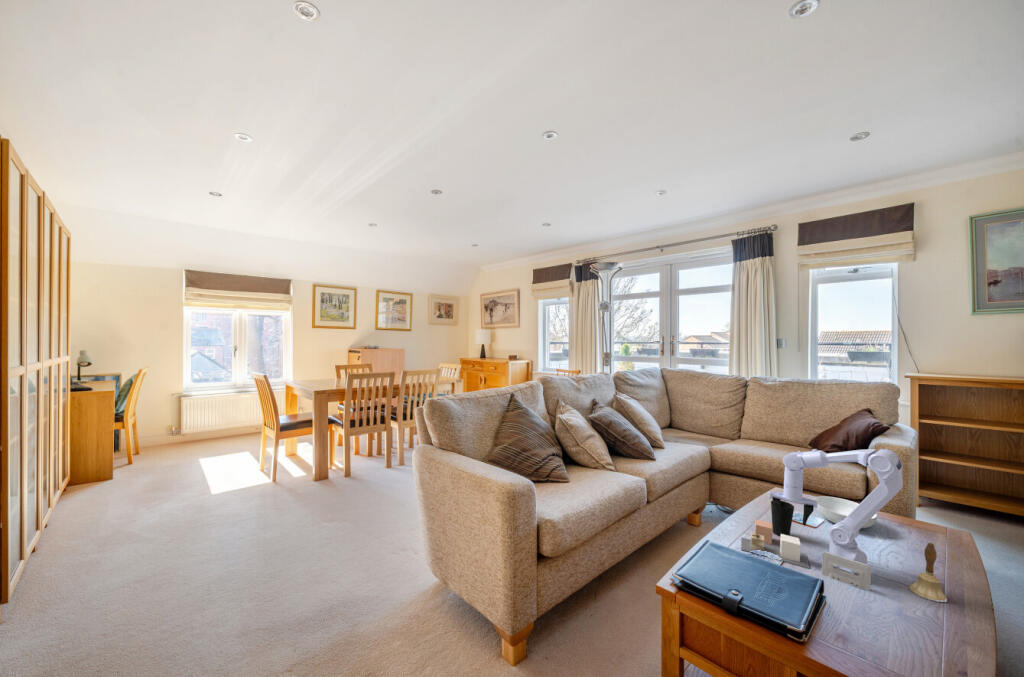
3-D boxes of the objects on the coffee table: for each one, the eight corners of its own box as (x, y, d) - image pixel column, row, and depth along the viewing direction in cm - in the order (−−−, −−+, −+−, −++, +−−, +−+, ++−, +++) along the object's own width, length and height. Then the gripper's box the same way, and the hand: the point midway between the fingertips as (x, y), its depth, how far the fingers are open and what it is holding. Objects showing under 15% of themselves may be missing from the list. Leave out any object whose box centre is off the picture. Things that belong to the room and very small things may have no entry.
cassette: (821, 575, 131) (822, 552, 130) (821, 572, 132) (822, 550, 132) (870, 592, 123) (871, 567, 123) (870, 589, 124) (871, 565, 124)
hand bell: (953, 606, 117) (956, 553, 117) (915, 596, 121) (918, 545, 121) (940, 591, 124) (943, 541, 124) (904, 582, 128) (907, 533, 128)
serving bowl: (826, 529, 162) (826, 513, 162) (804, 508, 182) (805, 493, 182) (888, 539, 156) (889, 521, 156) (859, 515, 176) (860, 500, 176)
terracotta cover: (771, 544, 149) (772, 528, 149) (755, 540, 152) (755, 524, 151) (770, 538, 153) (771, 522, 153) (754, 534, 156) (755, 519, 156)
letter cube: (763, 546, 146) (763, 535, 146) (763, 551, 143) (764, 540, 143) (750, 543, 148) (751, 532, 148) (750, 548, 145) (751, 537, 145)
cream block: (797, 554, 142) (798, 538, 141) (799, 562, 137) (800, 545, 137) (779, 549, 144) (780, 533, 144) (780, 556, 140) (781, 540, 140)
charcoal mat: (805, 554, 142) (805, 553, 142) (809, 568, 134) (809, 567, 134) (741, 538, 153) (741, 537, 152) (741, 550, 144) (741, 549, 144)
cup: (797, 539, 153) (799, 508, 153) (777, 538, 153) (779, 508, 153) (784, 529, 161) (785, 500, 161) (765, 528, 161) (766, 499, 161)
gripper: (815, 486, 146) (814, 522, 146) (769, 477, 154) (767, 512, 154) (819, 492, 140) (817, 530, 140) (770, 483, 147) (768, 519, 148)
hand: (791, 521), depth 147 cm, fingers open, 7 cm apart
